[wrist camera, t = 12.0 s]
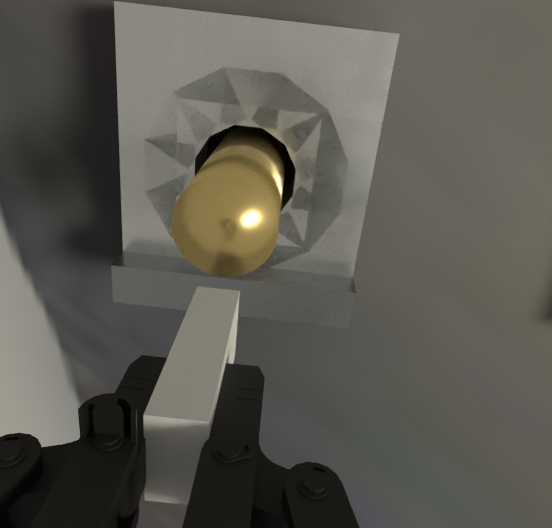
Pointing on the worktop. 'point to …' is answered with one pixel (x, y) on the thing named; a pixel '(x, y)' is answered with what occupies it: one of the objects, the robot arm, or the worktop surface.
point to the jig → (255, 113)
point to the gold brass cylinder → (232, 205)
